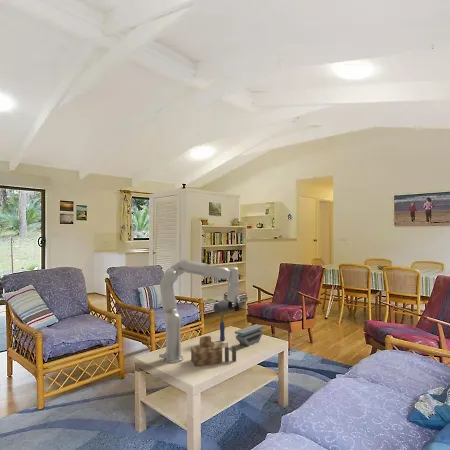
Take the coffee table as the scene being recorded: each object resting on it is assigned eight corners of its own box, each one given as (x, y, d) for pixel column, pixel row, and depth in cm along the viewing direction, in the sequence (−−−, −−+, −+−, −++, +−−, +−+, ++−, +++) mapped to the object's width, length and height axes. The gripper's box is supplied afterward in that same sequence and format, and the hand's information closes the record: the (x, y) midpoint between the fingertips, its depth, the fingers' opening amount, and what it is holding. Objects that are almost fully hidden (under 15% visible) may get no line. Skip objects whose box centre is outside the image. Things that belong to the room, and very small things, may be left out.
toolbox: (195, 366, 213) (194, 351, 213) (191, 360, 224) (191, 345, 225) (236, 361, 221) (236, 346, 221) (230, 355, 233) (230, 340, 233)
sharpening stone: (255, 338, 269) (255, 324, 269) (263, 340, 264) (263, 326, 264) (234, 346, 251) (234, 331, 251) (243, 348, 245) (242, 333, 246)
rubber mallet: (219, 343, 256) (218, 304, 257) (213, 341, 262) (212, 302, 263) (231, 340, 265) (231, 301, 265) (225, 338, 270) (224, 300, 271)
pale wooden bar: (211, 349, 216) (211, 343, 216) (210, 347, 219) (210, 341, 220) (228, 347, 220) (228, 341, 220) (226, 345, 223) (226, 339, 223)
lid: (194, 355, 213) (194, 342, 213) (191, 349, 225) (190, 336, 225) (222, 352, 219) (222, 339, 219) (217, 346, 230) (217, 334, 230)
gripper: (223, 283, 244) (223, 307, 244) (234, 287, 229) (234, 312, 228) (232, 283, 247) (232, 306, 247) (243, 286, 232) (244, 311, 232)
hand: (233, 309), depth 238 cm, fingers open, 9 cm apart
